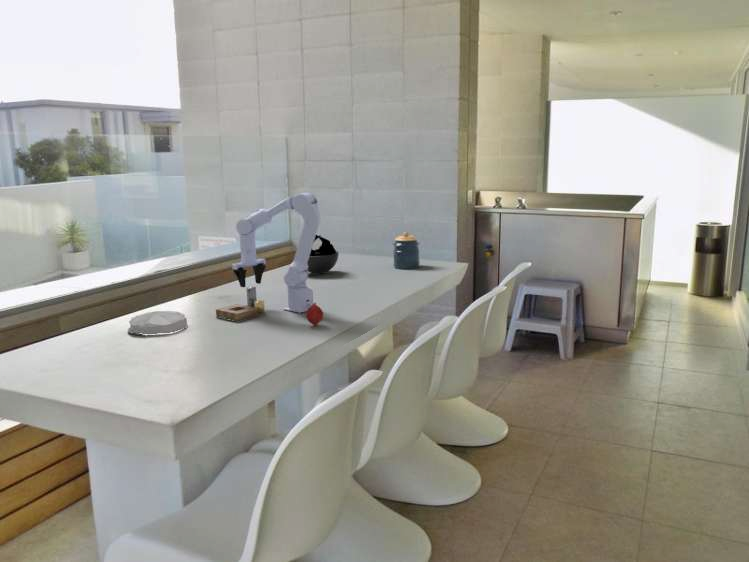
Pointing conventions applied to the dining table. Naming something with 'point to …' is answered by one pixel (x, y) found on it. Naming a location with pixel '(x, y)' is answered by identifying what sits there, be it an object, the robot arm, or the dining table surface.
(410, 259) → the canister
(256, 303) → the brass pin short
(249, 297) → the steel pin long
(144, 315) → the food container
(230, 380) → the dining table surface
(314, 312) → the onion
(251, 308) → the collar block
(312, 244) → the robot arm
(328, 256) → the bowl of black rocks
